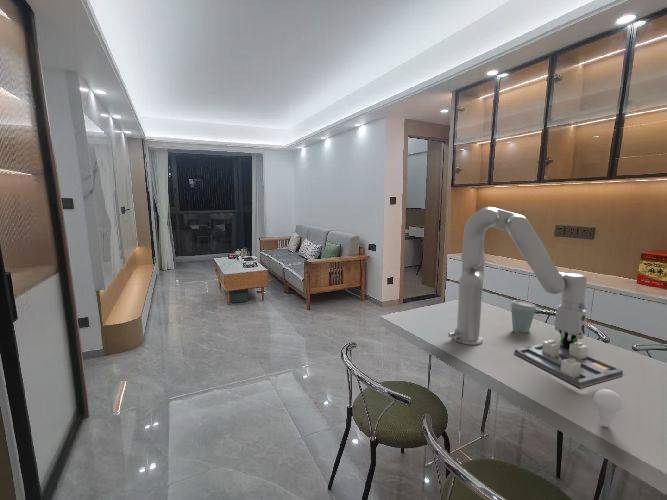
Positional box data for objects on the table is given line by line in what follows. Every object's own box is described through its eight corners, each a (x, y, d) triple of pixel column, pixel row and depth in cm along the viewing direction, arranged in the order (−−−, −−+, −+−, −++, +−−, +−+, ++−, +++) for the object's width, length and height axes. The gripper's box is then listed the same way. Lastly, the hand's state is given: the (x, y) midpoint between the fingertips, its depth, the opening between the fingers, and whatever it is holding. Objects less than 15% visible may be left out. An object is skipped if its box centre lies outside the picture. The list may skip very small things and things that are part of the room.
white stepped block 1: (551, 357, 131) (552, 343, 130) (542, 352, 135) (543, 339, 134) (558, 355, 133) (560, 342, 132) (549, 351, 136) (550, 338, 135)
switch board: (579, 389, 113) (580, 382, 112) (514, 355, 137) (514, 349, 136) (621, 377, 120) (622, 370, 120) (553, 346, 144) (553, 341, 144)
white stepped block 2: (571, 378, 116) (573, 363, 115) (560, 372, 120) (561, 358, 119) (579, 376, 118) (581, 361, 117) (568, 370, 121) (569, 356, 120)
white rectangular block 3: (578, 359, 129) (580, 346, 128) (568, 355, 133) (570, 341, 132) (585, 357, 131) (587, 344, 130) (575, 353, 134) (577, 340, 133)
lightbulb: (585, 419, 98) (590, 385, 96) (604, 418, 98) (609, 384, 96) (603, 434, 92) (609, 397, 90) (624, 433, 92) (630, 396, 90)
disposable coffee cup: (520, 327, 166) (522, 297, 163) (539, 335, 156) (542, 304, 153) (503, 329, 163) (505, 300, 160) (521, 338, 152) (524, 307, 150)
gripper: (598, 309, 127) (592, 354, 130) (560, 298, 141) (555, 339, 144) (585, 311, 124) (579, 358, 127) (547, 300, 138) (543, 342, 141)
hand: (566, 348), depth 136 cm, fingers closed
